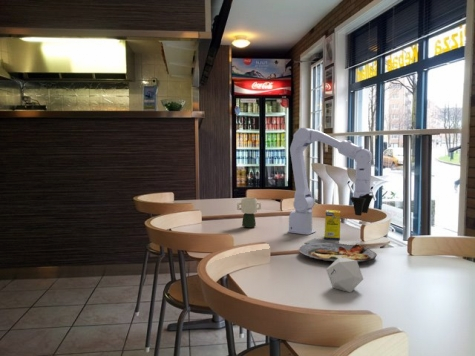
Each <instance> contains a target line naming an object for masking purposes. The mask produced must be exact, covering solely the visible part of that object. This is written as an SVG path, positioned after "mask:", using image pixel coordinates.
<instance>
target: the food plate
mask: <svg viewBox="0 0 475 356" xmlns="http://www.w3.org/2000/svg"><path fill="white" fill-rule="evenodd" d="M298 252H299V253H301V254H303V255H305V256H307V257H309V258H310V259H313V258H314V259H316V260H323V261H325V262H327V261H328V262H334V261H336V260H337V259H338V258H339V257H342V258H346V259H351V260H356V261H357V263H362V262H363V263H364V262H369V261H373V260H375V259H376V257H377V253H376V252H375V251H374V250H371V249H369V248H367V247H365V246H364V245H359V244H357V243H356V244H354V245H353V244H346V243H345V244H344V243H340V242H339V243H336V244H335V243H315V244H302V245H301V246H299V248H298Z"/></svg>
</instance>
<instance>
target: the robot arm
mask: <svg viewBox="0 0 475 356" xmlns="http://www.w3.org/2000/svg"><path fill="white" fill-rule="evenodd" d="M314 142H322V143H323V144H325V145H328V146H330V147H331V148H332V147H333V148H335V149H337V151H338V154H339V155H340V154H341V156H342V155H343V156H344V157H345V158H348V159H351V160H352V161H353V160H354V161H355V175H354V176H355V179H354V180H355V181H354V190H353V191H354V192H353V196H350V201H351V203H352V206H353V209H354V214H355V216H362V214H363V213H364V214H367V213H368V212H369V207H370V204H371V202H372V200H373V198H374V194H373V193H374V191H373V190H371V177H372V176H371V174H372V173H371V171H372V167H371V166H372V165H371V164H372V163H371V161H372V160H373V153H372V152H371V150H369V149H368V148H363V146H362V145H356V144H355V143H353V142H352V140H350V139H349V140H342V141H341V140H339V139H336V138H334V137H332V136H330V135H329V134H327V133H324V132H323V131H319V130H318V129H317V130H316V129H313V128H311V127H310V128H306V127H300V128H298V129H297V130H296V131H295V132H294V133H293V139H292V141H291V144H290V147H289V152H290V157H291V158H290V159H291V164H292V166H291V167H292V171H293V173H292V174H293V180H294V184H295V187H294V188H295V192H294V197H293V198H294V201H293V207H294V210H292V211H291V212H289V216H288V231H287V232H288V233H292V234H300V235H306V236H307V235H308V236H309V235H311V234H314V233H316V232H317V231H316V230H313V211H314V210H313V208H314V206H315V203H316V202H315V199H314V197H313V196H312V192H311V190H310V189H309V184H308V176H307V171H306V170H307V169H306V164H305V157H304V151H305V150H306V149H307V148H308V146H310V145H311V144H313V143H314Z"/></svg>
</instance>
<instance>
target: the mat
mask: <svg viewBox="0 0 475 356" xmlns="http://www.w3.org/2000/svg"><path fill="white" fill-rule="evenodd" d="M315 243H335V244H336V243H337V244H338V243H339V244H340V241H339V240H338V241H337V240H331V239H321V238H316V237H315V238H312V239H311V240H308V241H305V242H304V244H303V245H306V244H315Z"/></svg>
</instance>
